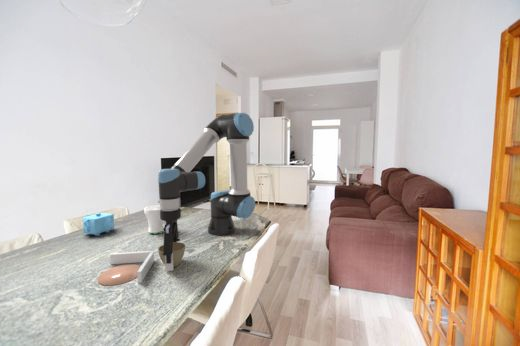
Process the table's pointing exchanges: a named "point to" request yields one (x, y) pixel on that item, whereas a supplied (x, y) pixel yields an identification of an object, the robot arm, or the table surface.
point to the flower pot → (177, 253)
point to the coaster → (118, 274)
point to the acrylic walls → (133, 258)
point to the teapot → (98, 223)
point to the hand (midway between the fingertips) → (172, 263)
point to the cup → (154, 219)
